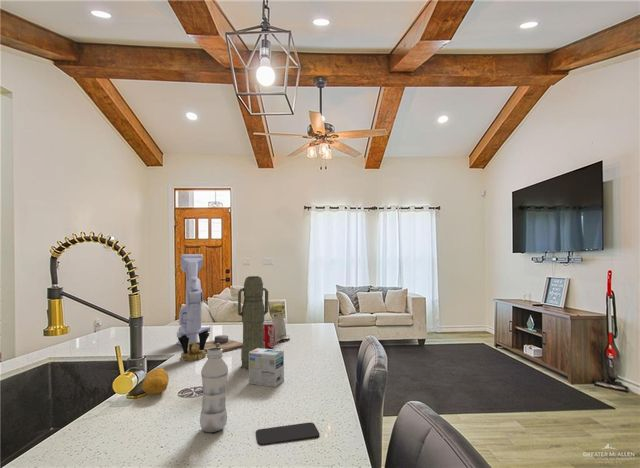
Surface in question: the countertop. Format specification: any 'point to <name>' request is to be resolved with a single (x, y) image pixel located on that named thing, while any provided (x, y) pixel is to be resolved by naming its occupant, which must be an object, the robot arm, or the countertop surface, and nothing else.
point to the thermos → (252, 316)
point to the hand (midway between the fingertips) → (193, 351)
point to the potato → (155, 381)
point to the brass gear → (193, 352)
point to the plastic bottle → (214, 392)
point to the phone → (287, 433)
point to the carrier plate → (222, 344)
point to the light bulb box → (266, 367)
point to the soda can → (268, 335)
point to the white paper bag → (279, 321)
